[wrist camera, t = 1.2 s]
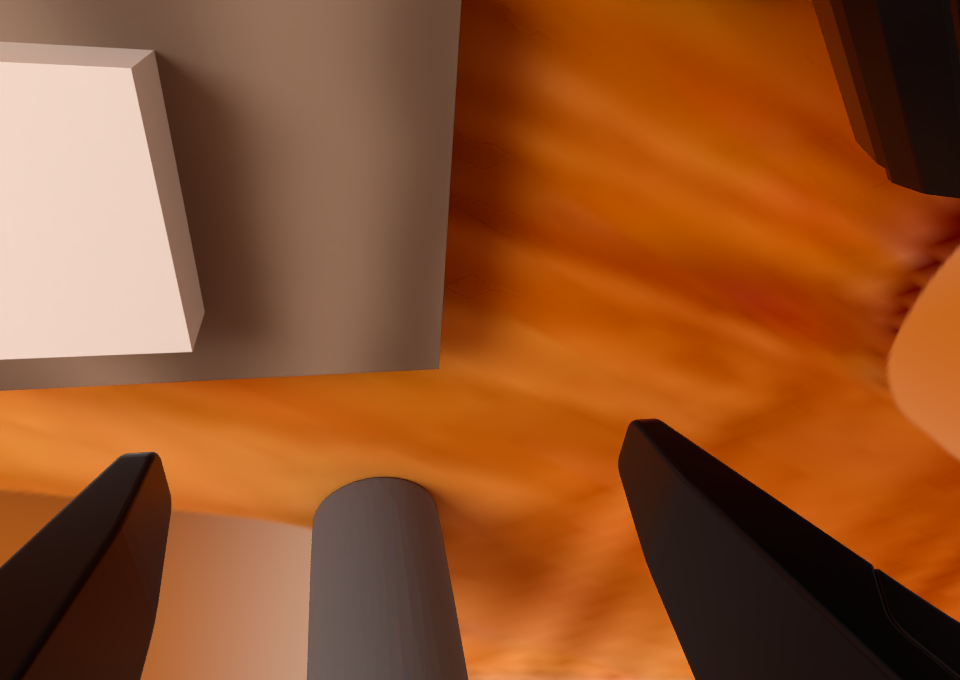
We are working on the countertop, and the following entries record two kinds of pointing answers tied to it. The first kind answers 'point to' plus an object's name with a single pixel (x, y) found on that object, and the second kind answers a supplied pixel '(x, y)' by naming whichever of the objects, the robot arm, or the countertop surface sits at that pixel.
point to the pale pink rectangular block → (90, 208)
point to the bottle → (381, 587)
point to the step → (287, 178)
